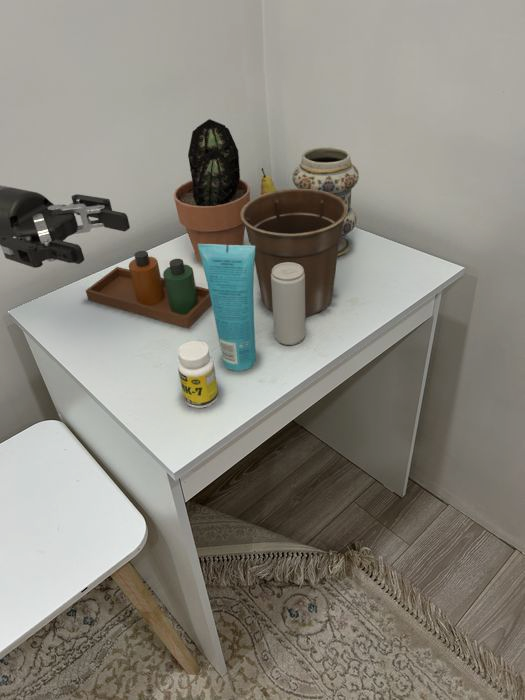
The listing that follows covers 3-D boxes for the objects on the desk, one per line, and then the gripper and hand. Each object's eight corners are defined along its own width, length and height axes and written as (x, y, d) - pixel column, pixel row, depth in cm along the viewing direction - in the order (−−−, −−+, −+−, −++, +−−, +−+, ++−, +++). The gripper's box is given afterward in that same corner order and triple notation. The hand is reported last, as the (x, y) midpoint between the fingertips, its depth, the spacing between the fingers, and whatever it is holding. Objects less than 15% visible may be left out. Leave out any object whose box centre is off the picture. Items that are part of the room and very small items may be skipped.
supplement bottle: (177, 402, 75) (167, 355, 69) (196, 381, 78) (187, 335, 73) (207, 413, 73) (198, 365, 67) (225, 390, 76) (218, 344, 71)
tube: (265, 350, 82) (256, 235, 70) (262, 372, 79) (253, 254, 66) (216, 350, 83) (200, 236, 71) (211, 371, 79) (193, 255, 67)
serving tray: (88, 300, 96) (85, 290, 95) (119, 276, 102) (117, 266, 100) (188, 328, 88) (186, 318, 86) (216, 300, 94) (214, 290, 92)
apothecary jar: (368, 244, 106) (374, 151, 94) (326, 269, 99) (328, 172, 88) (321, 226, 113) (322, 137, 101) (280, 248, 107) (276, 156, 95)
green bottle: (164, 311, 91) (155, 266, 86) (180, 296, 94) (172, 252, 89) (188, 317, 89) (180, 272, 84) (203, 302, 92) (197, 257, 87)
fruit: (288, 219, 116) (286, 163, 108) (265, 227, 114) (261, 170, 106) (274, 210, 120) (272, 156, 112) (252, 217, 118) (247, 162, 110)
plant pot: (228, 300, 93) (218, 213, 83) (292, 263, 102) (290, 179, 92) (299, 339, 84) (297, 245, 74) (363, 294, 92) (369, 204, 82)
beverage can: (269, 333, 86) (265, 267, 78) (296, 324, 87) (294, 258, 79) (282, 350, 82) (279, 282, 74) (311, 341, 83) (310, 273, 76)
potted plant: (170, 256, 106) (146, 124, 91) (224, 232, 113) (210, 105, 97) (213, 282, 98) (194, 141, 83) (269, 253, 105) (261, 119, 89)
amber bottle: (131, 302, 94) (120, 258, 88) (148, 287, 97) (138, 244, 92) (153, 308, 92) (143, 263, 86) (170, 293, 95) (161, 249, 90)
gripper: (56, 219, 79) (146, 239, 72) (-24, 267, 69) (72, 295, 63) (39, 168, 74) (135, 185, 68) (-49, 212, 64) (53, 236, 58)
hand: (104, 238), depth 65 cm, fingers open, 8 cm apart
